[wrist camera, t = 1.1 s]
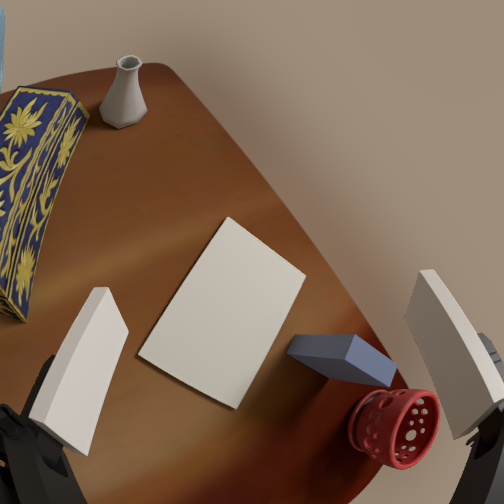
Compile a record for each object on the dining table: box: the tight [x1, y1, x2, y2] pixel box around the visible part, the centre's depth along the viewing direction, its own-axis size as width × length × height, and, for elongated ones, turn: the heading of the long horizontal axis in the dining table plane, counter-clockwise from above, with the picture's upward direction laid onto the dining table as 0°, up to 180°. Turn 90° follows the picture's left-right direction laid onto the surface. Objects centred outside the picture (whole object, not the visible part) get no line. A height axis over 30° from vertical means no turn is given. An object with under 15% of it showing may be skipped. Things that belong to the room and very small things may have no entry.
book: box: [286, 334, 397, 387], centre depth 34 cm, size 3×9×12 cm, turn 60°
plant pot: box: [348, 389, 440, 470], centre depth 36 cm, size 13×13×12 cm
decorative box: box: [0, 86, 90, 323], centre depth 24 cm, size 11×30×9 cm, turn 175°
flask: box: [99, 55, 147, 129], centre depth 32 cm, size 7×7×10 cm
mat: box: [138, 217, 306, 409], centre depth 36 cm, size 21×14×1 cm, turn 150°
